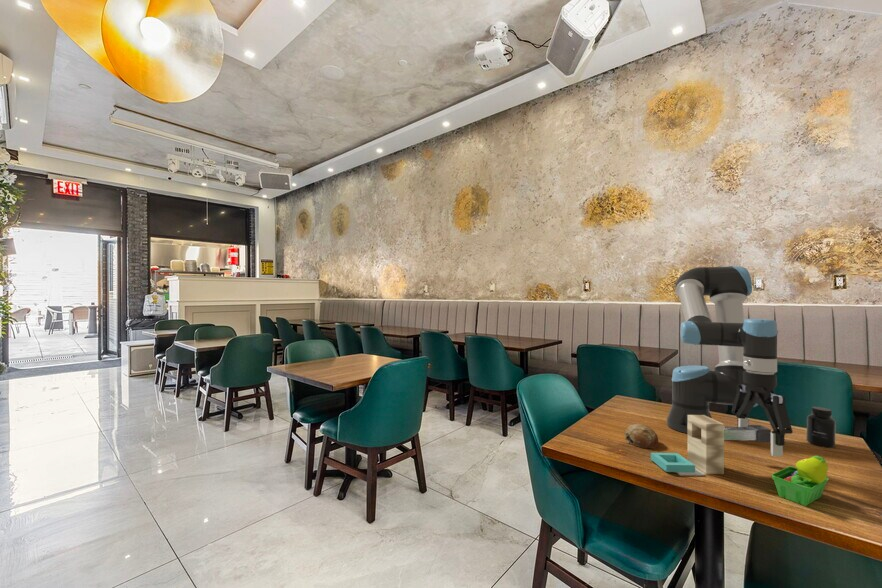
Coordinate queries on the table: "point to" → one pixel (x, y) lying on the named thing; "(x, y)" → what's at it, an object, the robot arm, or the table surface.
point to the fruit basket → (802, 480)
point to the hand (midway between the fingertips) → (759, 447)
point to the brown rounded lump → (641, 436)
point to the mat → (696, 473)
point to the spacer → (679, 466)
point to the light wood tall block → (705, 444)
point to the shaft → (748, 433)
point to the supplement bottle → (821, 427)
